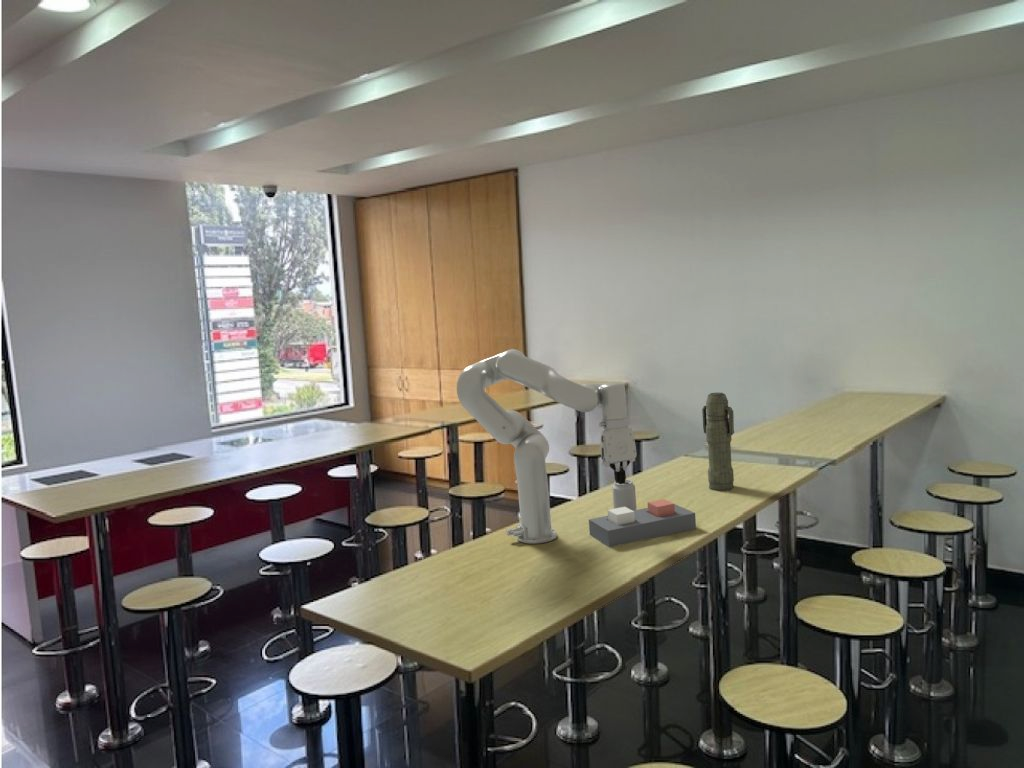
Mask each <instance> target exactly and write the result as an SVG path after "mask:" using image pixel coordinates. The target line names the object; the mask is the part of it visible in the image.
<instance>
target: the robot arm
mask: <svg viewBox="0 0 1024 768" xmlns="http://www.w3.org/2000/svg"><path fill="white" fill-rule="evenodd" d="M506 380H509V381H512V382H514V383H516V384H518V385H521V386H524V387H525V388H529V389H531V390H534V391H536V392H538V393H540V394H542V395H543V396H545V397H547V398H549V399H550V400H553V401H554V402H557V403H559V404H560V405H563V406H564V407H565V406H566V407H568V408H570V409H572V410H575V411H579V412H581V413H590V412H592V411H594V410H595V409H596V408H597V407H598V406H600V407H601V416H602V417H601V418H602V419H601V422H599V423H598V425H599V427H601V428H602V429H601V432H600V457H601V460H602V462H601V463H602V464H601V465H602V467H605V468H610V469H611V470H613V475H614V476H613V477H614V482H615V481H616V483H618V484H622V483H623V484H624V483H625V480H627V477H626V471H627V469H628V466H630V464H631V463H633V462H636V458H637V447H636V441H635V436H634V432H633V428H632V426H630V425H629V420H628V406H627V394H626V387H625V384H624V383H622V382H616V381H615V382H607V383H590V382H589V383H584V384H579V383H576V382H574V381H572V380H570V379H568V378H566V377H564V376H562V375H561V374H559V373H558V372H557V370H555V369H554V368H553V367H551V366H550V365H547V364H545V363H542V362H541V361H540V362H539V361H538V360H534V359H533V358H530V357H527V356H526V355H525V354H524V353H523V352H522V351H521V350H518V349H515V348H512V349H511V348H510V349H508V350H506V351H505V350H504V351H503V352H501V353H498V354H496V355H494V356H491V357H488V358H485V359H483V360H480V361H477V362H475V363H473V364H470V365H468V366H466V367H465V368H464V369H463V370H462V371H461V372H460V374H459V376H458V379H457V382H456V396H457V399H458V401H459V403H460V404H461V406H462V407H463V409H465V411H466V412H468V414H469V415H470V416H472V417H473V418H474V420H476V421H477V422H478V424H479V425H481V427H482V428H483V429H484V430H486V431H487V433H489V434H490V435H491V437H493V439H494V440H495V441H496V442H497V443H499V444H502V445H510V444H511V445H512V446H513V447H514V448H515V449H514V452H513V463H514V464H513V465H514V470H515V476H516V485H517V495H518V505H519V507H518V508H519V517H520V523H517V526H515V528H509V529H506V532H505V533H506V536H507V537H509V536H513V537H516V539H517V541H519V542H521V543H524V544H530V545H531V544H533V545H535V544H536V545H537V544H544V543H549V542H551V541H554V540H555V539H556V538H557V537H558V533H557V531H556V530H555V529H553V528H552V521H551V519H552V518H551V517H552V516H551V505H550V494H549V482H548V481H549V480H548V472H547V466H546V458H547V457H548V454H549V452H550V444H549V441H548V439H547V438H546V437H545V435H544V434H543V433H542V432H541V431H539V430H538V429H537V428H536V427H535V426H534V425H533V424H532V423H531V422H530V421H529V420H528V419H527V418H526V417H525V416H524V415H523V414H522V413H520V412H518V411H516V410H514V409H513V410H512V409H507V410H505V408H503V407H502V406H501V405H500V404H499V403H498V402H497V401H496V400H495V399H494V398H493V397H492V396H491V395H489V394H488V393H487V392H486V390H485V389H486V388H488V387H490V386H493V385H495V384H498V383H501V382H503V381H506Z"/></svg>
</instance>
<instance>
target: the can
mask: <svg viewBox="0 0 1024 768" xmlns="http://www.w3.org/2000/svg"><path fill="white" fill-rule="evenodd" d="M611 490H612V502H613V509H615V508H621V507H627V508H629V509H631V510H633V511H634V510H638V509H637V496H636V486H635V484H634V482H633V480H630V479H626V480H625V483H624V484H623V483H622V484H618V483H616V481H615V480H614V482H613V486H612V488H611Z"/></svg>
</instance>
